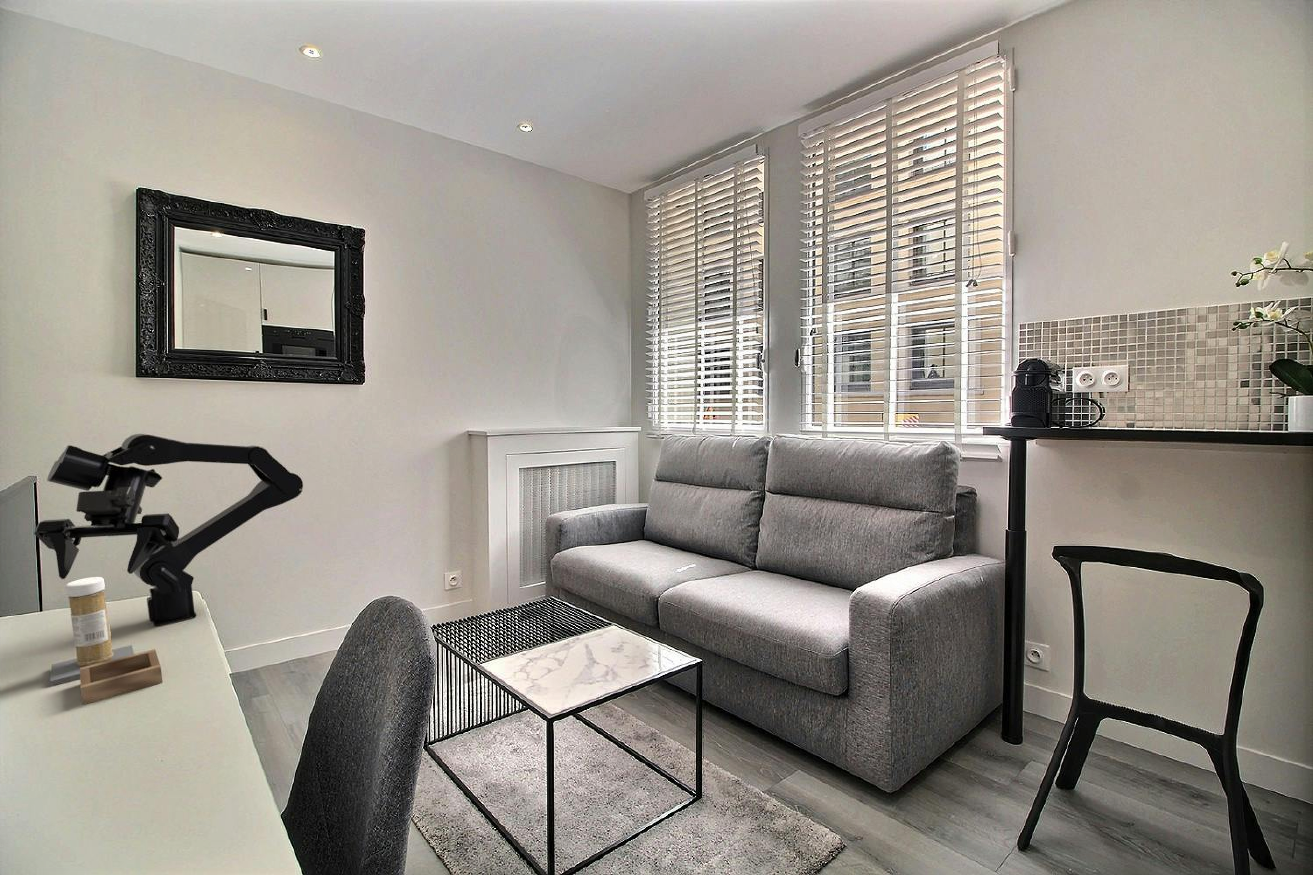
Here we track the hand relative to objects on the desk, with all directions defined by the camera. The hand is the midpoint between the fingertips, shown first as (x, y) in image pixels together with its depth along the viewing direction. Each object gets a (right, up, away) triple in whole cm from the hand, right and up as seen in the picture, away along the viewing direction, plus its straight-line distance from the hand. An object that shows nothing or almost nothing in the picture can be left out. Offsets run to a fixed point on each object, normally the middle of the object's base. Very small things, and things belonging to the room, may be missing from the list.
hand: (96, 575), depth 106 cm
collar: (+12, -14, -9) cm, 21 cm away
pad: (+3, -14, -3) cm, 15 cm away
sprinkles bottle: (+3, -13, -3) cm, 14 cm away
